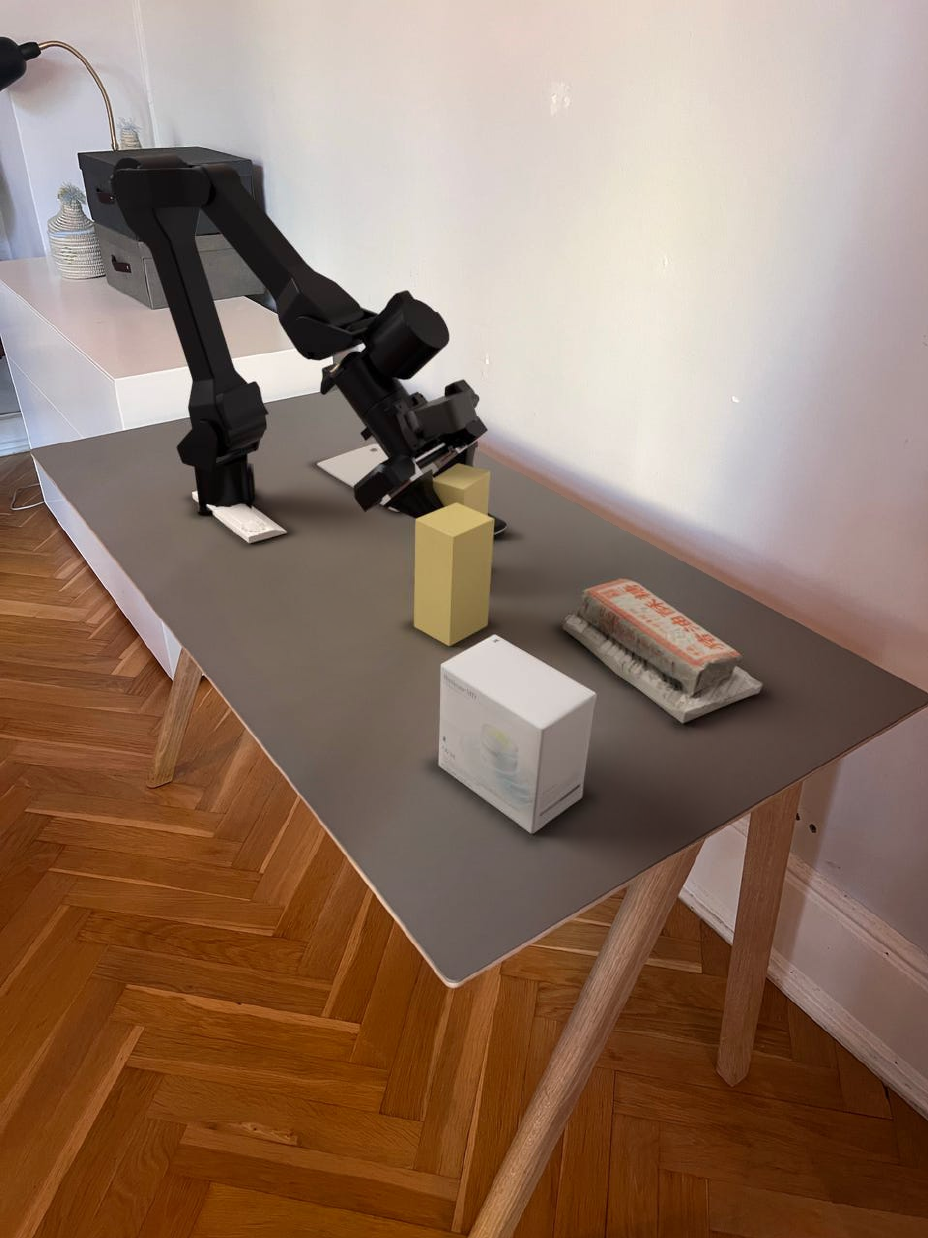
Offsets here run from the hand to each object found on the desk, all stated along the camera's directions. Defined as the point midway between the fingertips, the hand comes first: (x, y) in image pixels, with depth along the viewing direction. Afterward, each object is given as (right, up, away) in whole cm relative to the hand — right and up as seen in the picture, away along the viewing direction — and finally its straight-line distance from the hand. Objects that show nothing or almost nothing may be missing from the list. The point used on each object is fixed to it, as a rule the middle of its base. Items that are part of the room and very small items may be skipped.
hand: (469, 526), depth 97 cm
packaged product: (+18, -14, -8) cm, 24 cm away
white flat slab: (-28, +3, +15) cm, 32 cm away
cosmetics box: (+3, -23, -24) cm, 33 cm away
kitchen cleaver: (-8, +6, +22) cm, 24 cm away
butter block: (-2, -11, -5) cm, 12 cm away
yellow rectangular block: (-1, -5, +4) cm, 7 cm away
